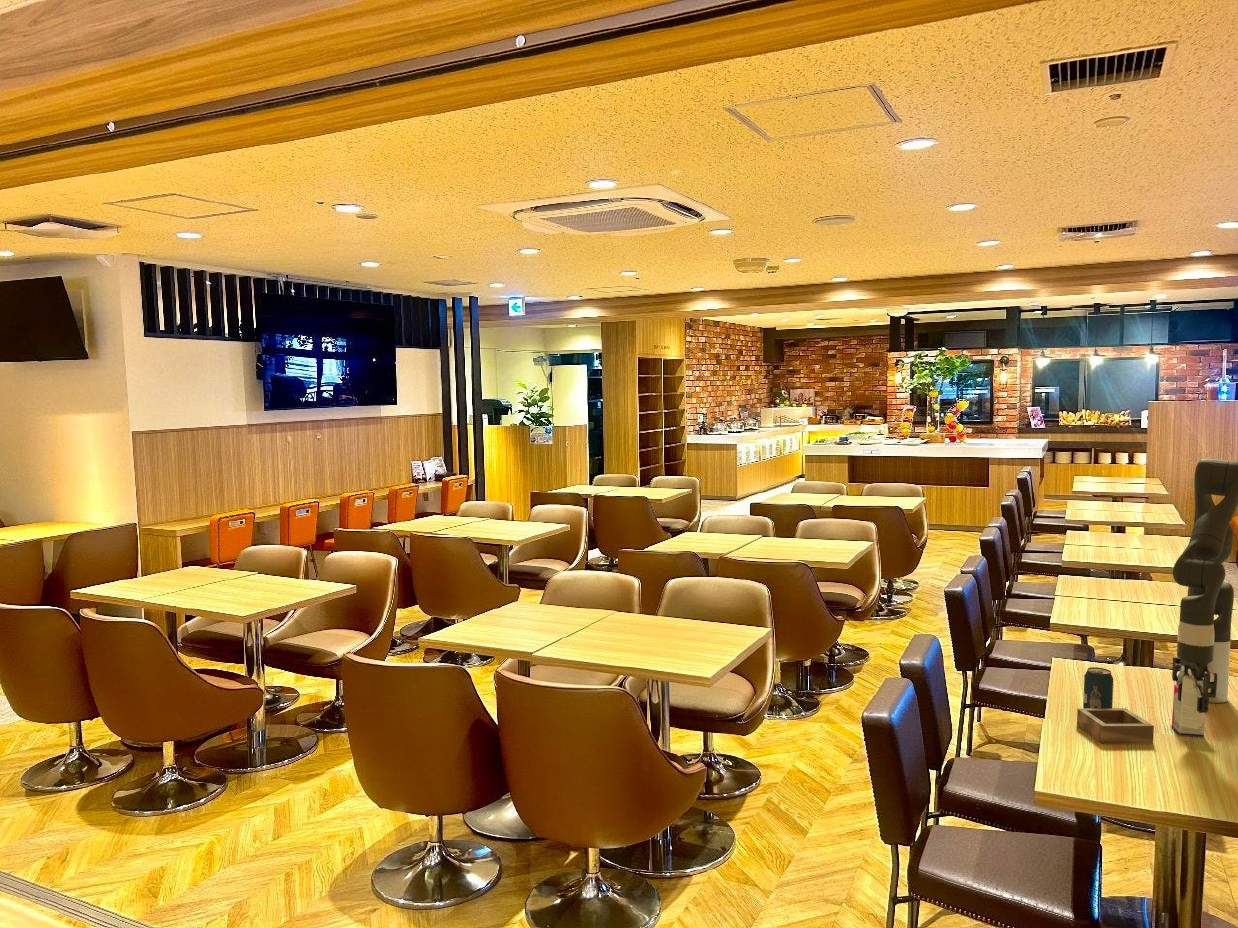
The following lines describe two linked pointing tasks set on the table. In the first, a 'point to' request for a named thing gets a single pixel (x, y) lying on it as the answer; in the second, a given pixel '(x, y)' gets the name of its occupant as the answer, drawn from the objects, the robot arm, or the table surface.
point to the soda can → (1098, 688)
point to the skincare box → (1190, 704)
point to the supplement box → (1176, 718)
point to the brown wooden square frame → (1115, 726)
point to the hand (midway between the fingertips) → (1192, 706)
